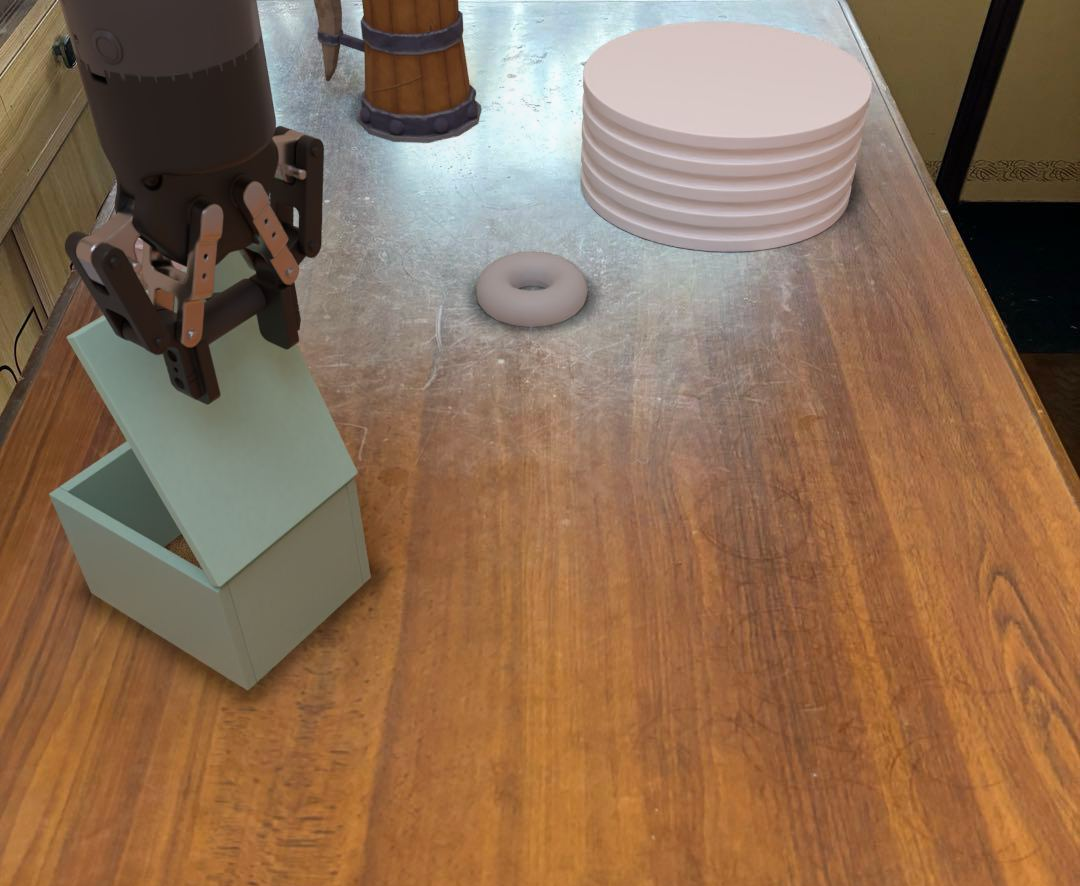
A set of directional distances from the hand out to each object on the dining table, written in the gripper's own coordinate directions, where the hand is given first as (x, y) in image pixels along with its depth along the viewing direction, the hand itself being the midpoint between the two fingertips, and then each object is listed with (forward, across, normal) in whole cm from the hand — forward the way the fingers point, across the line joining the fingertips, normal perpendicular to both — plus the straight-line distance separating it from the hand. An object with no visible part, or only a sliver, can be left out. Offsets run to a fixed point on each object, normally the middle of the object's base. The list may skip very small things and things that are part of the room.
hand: (241, 367), depth 57 cm
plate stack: (+22, -70, -7) cm, 74 cm away
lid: (+4, 0, -2) cm, 5 cm away
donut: (+22, -40, -9) cm, 47 cm away
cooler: (+21, 0, -6) cm, 22 cm away
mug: (+22, -66, -45) cm, 83 cm away
